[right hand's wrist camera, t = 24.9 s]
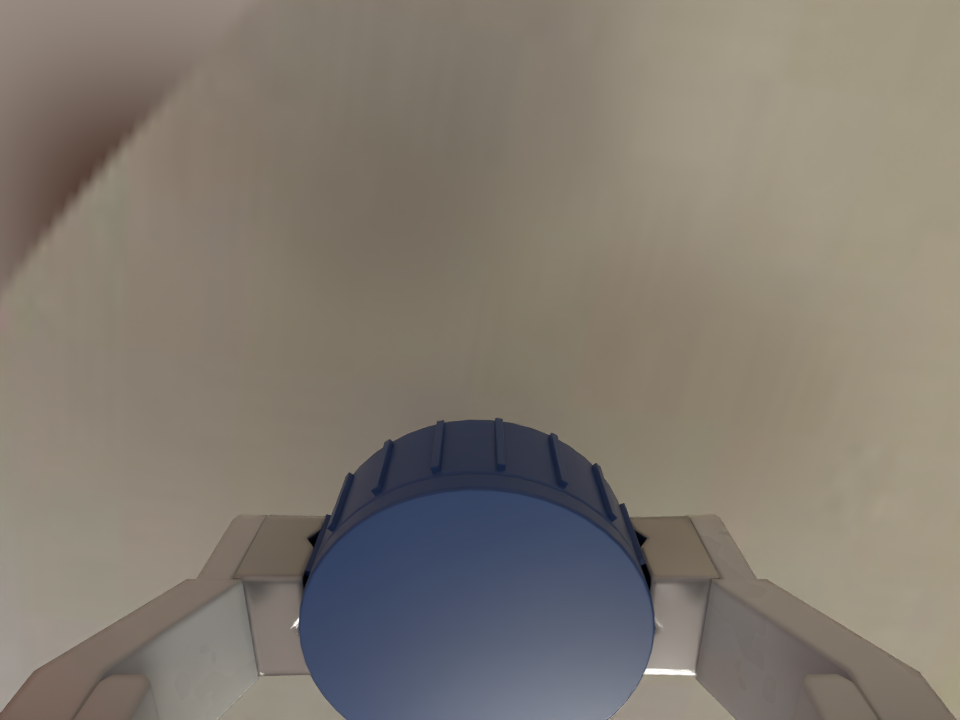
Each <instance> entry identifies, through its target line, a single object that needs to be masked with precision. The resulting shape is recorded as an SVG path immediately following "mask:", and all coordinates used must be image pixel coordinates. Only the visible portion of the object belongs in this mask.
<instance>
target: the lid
mask: <svg viewBox="0 0 960 720" xmlns="http://www.w3.org/2000/svg"><path fill="white" fill-rule="evenodd" d="M643 564H646V561H645V558H644V556H643V553H642V550H641V548H640V545H639V542H638V539H637V537H636V534H635V531H634V528H633V526H632V523H631V520H630V517H629V515H628V512H627V509H626V507H625V504H624V503H623V504H620V505H619V503H618V500H617V498H616V497H615V495H614V493H613V491H612V489H611V488H610V486H609V484H608V483H607V482H606V480H605V479H604V477H603V474H602V471H601V468H600V466H599V465H598V464H597V463H595V464H594V465H592V464H591V463H590V462H589V461H588V460H587V459H586V458H585V457H583V456H582V455H581V454H579V453H578V452H577V451H575V450H574V449H573V448H571V447H570V446H568V445H566V444H565V443H563V442H561V441H559V440H558V436H557V435H555V434H553V433H551V434H550V435H547V434H545V433H542V432H540V431H537V430H535V429H532V428H529V427H525V426H521V425H517V424H513V423H507V422H503V419H500V418H496V419H495V421H493V420H463V421H453V422H446V423H445V422H444V420H442V421H437V425H433V426H428V427H426V428H423V429H420V430H417V431H414V432H411V433H409V434H407V435H405V436H403V437H401V438H399V439H397V440H395V441H393V442H392V441H391V439H389V440H388V441H386V442H385V443H384V446H383V448H382V449H380V450H379V451H377V452H376V453H375V454H373V455H372V456H371V457H370V458H369V459H368V460H367V461H366V462H364V463H363V464H362V465H361V466H360V467H359V468H358V470H357V471H356V472H355V473H354V474H351V473H350V472H349V473H348V474H347V476H346V477H345V480H344V483H343V486H342V488H341V491H340V494H339V497H338V499H337V502H336V505H335V507H334V509H333V512H332V515H328V514H327V515H326V517H325V520H324V523H323V525H322V528H321V530H320V532H319V535H318V538H317V540H316V543H315V546H314V549H313V552H312V554H311V557H310V559H309V562H308V564H307V567H306V570H305V572H306V576H307V577H308V580H307V583H306V585H305V588H304V591H303V596H302V600H301V604H300V609H299V625H298V627H299V636H300V645H301V649H302V653H303V656H304V660H305V663H306V666H307V668H308V670H309V672H310V674H311V677H312V679H313V681H314V682H315V684H316V685H317V687H318V688H319V690H320V691H321V693H322V694H323V696H324V697H325V698H326V699H327V700H328V702H329V703H330V704H331V705H332V706H333V707H334V709H335V710H336V711H338V712H339V713H340V714H341V715H342V716H343V717H344V718H345V719H346V720H608V719H609V718H610V717H611V716H612V715H614V714H615V713H616V712H617V710H618V709H619V708H620V707H621V706H622V705H623V704H624V703H625V702H626V701H627V700H628V698H629V697H630V695H631V694H632V693H633V691H634V690H635V688H636V687H637V686H638V684H639V682H640V680H641V678H642V676H643V674H644V672H645V670H646V668H647V665H648V662H649V659H650V656H651V653H652V648H653V641H654V635H655V613H654V608H653V603H652V597H651V594H650V591H649V588H648V585H647V582H646V580H645V577H644V574H643V571H642V568H641V565H643Z"/></svg>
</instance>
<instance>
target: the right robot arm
mask: <svg viewBox="0 0 960 720" xmlns="http://www.w3.org/2000/svg"><path fill="white" fill-rule="evenodd" d="M325 517H326V516H289V515H269V516H267V515H239V516H237V517H235V518H234V519H233V520H232V522H231V523H230V525H229V527H228V528H227V530H226V531H225V533H224V535H223V536H222V538H221V540H220V541H219V543H218V545H217V546H216V548H215V549H214V551H213V553H212V554H211V556H210V558H209V559H208V561H207V563H206V564H205V566H204V567H203V569H202V571H201V572H200V574H199V576H198V577H197V579H187V580H185V581H183V582H182V583H180V584H178V585H177V586H175V587H173V588H172V589H170V590H168V591H167V592H165V593H163V594H162V595H160V596H158V597H157V598H155V599H153V600H152V601H150V602H148V603H147V604H145V605H143V606H142V607H140V608H138V609H137V610H135V611H133V612H132V613H130V614H128V615H127V616H125V617H123V618H122V619H120V620H118V621H117V622H115V623H113V624H112V625H110V626H108V627H107V628H105V629H104V630H102V631H100V632H99V633H97V634H95V635H94V636H92V637H90V638H89V639H87V640H85V641H84V642H82V643H80V644H79V645H77V646H75V647H74V648H72V649H70V650H69V651H67V652H65V653H64V654H62V655H60V656H59V657H57V658H55V659H54V660H52V661H50V662H49V663H47V664H45V665H44V666H42V667H40V668H39V669H37V670H35V671H34V672H33V673H32V674H31V676H30V677H29V678H28V679H27V681H26V682H25V683H24V684H23V686H22V687H21V688H20V689H19V691H18V692H17V693H16V694H15V695H14V697H13V698H12V699H11V700H10V702H9V703H8V704H7V705H6V707H5V708H4V709H3V710H2V712H1V713H0V720H218V719H219V718H220V717H221V716H222V715H223V714H224V713H225V712H226V711H227V710H228V709H229V708H230V707H231V706H232V705H233V704H234V703H235V702H236V701H237V700H238V699H239V698H240V697H241V696H242V695H243V694H244V693H245V692H246V691H247V690H248V689H249V688H250V687H251V686H252V685H253V684H254V683H255V682H256V681H257V680H258V676H277V675H311V674H310V672H309V670H308V668H307V666H306V663H305V660H304V656H303V653H302V649H301V645H300V636H299V627H298V625H299V609H300V604H301V600H302V596H303V591H304V588H305V585H306V583H307V580H308V577H307V576H306V572H305V570H306V567H307V564H308V562H309V559H310V557H311V554H312V552H313V549H314V546H315V543H316V540H317V538H318V535H319V532H320V530H321V528H322V525H323V523H324V520H325ZM630 520H631V523H632V526H633V528H634V531H635V534H636V537H637V539H638V542H639V545H640V548H641V550H642V553H643V556H644V558H645V561H646V564H643V565H641V568H642V571H643V574H644V577H645V580H646V582H647V585H648V588H649V591H650V594H651V597H652V603H653V608H654V613H655V635H654V641H653V648H652V653H651V656H650V659H649V662H648V665H647V668H646V670H645V672H644V674H643V675H676V676H696V680H697V681H698V682H699V683H700V684H701V685H702V686H703V687H704V688H705V689H706V690H707V691H708V692H709V693H710V694H711V695H712V696H713V697H714V698H715V699H716V700H717V701H718V702H719V703H720V704H721V705H722V706H723V707H724V708H725V709H726V710H727V711H728V712H729V713H730V714H731V715H732V716H733V717H734V718H735V719H736V720H956V718H955V717H954V716H953V715H952V713H951V712H950V711H949V709H948V708H947V707H946V706H945V704H944V703H943V702H942V700H941V699H940V698H939V697H938V695H937V694H936V693H935V691H934V690H933V689H932V688H931V686H930V685H929V684H928V683H927V681H926V680H925V679H924V677H923V676H922V675H921V674H920V672H918V671H916V670H915V669H913V668H912V667H910V666H908V665H907V664H905V663H903V662H902V661H900V660H898V659H897V658H895V657H893V656H892V655H890V654H889V653H887V652H885V651H884V650H882V649H880V648H879V647H877V646H875V645H874V644H872V643H870V642H869V641H867V640H866V639H864V638H862V637H861V636H859V635H857V634H856V633H854V632H852V631H851V630H849V629H847V628H846V627H844V626H843V625H841V624H839V623H838V622H836V621H834V620H833V619H831V618H829V617H828V616H826V615H824V614H823V613H821V612H820V611H818V610H816V609H815V608H813V607H811V606H810V605H808V604H806V603H805V602H803V601H801V600H800V599H798V598H796V597H795V596H793V595H792V594H790V593H788V592H787V591H785V590H783V589H782V588H780V587H778V586H777V585H775V584H773V583H772V582H770V581H769V580H767V579H757V578H756V576H755V575H754V573H753V571H752V570H751V568H750V566H749V565H748V563H747V561H746V560H745V558H744V556H743V555H742V553H741V551H740V550H739V548H738V546H737V545H736V543H735V541H734V540H733V538H732V536H731V535H730V533H729V532H728V530H727V528H726V527H725V525H724V523H723V522H722V520H721V518H720V517H718V516H717V515H687V516H668V517H630Z"/></svg>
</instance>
